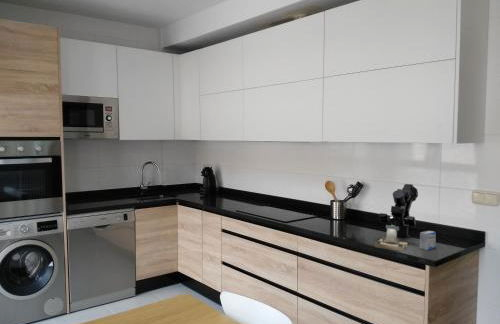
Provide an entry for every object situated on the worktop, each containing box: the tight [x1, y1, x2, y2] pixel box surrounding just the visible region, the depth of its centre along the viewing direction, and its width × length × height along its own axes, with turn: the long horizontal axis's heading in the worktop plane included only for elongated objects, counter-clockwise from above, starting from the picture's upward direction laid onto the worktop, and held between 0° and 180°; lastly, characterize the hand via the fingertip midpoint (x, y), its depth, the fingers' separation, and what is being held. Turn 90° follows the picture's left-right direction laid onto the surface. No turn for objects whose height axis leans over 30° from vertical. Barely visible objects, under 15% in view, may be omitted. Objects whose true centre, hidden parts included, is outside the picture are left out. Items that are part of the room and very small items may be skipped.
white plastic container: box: [385, 224, 399, 242], centre depth 205 cm, size 5×6×9 cm
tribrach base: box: [374, 236, 409, 252], centre depth 205 cm, size 12×14×5 cm
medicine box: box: [419, 230, 437, 251], centre depth 203 cm, size 8×4×9 cm, turn 126°
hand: (394, 232), depth 209 cm, fingers closed
